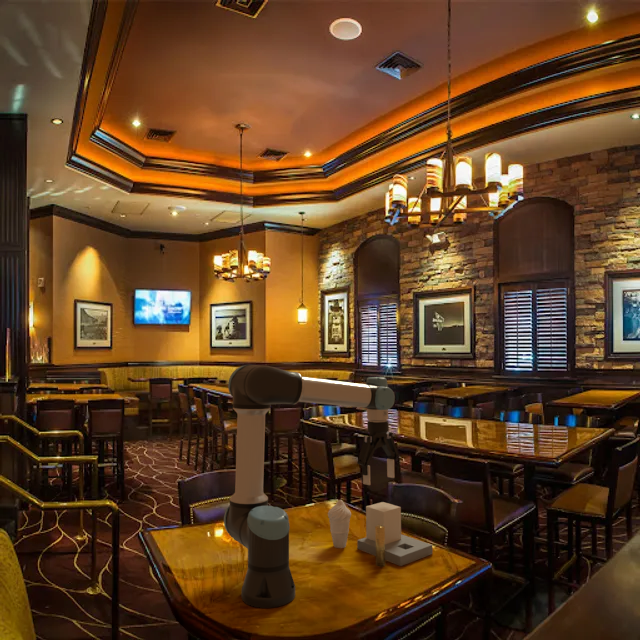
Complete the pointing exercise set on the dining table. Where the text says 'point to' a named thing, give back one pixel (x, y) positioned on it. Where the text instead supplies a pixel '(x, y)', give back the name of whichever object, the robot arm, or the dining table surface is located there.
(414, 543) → the socket board
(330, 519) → the soft serve ice cream cone
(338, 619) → the dining table surface
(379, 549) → the brass pin
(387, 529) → the block
